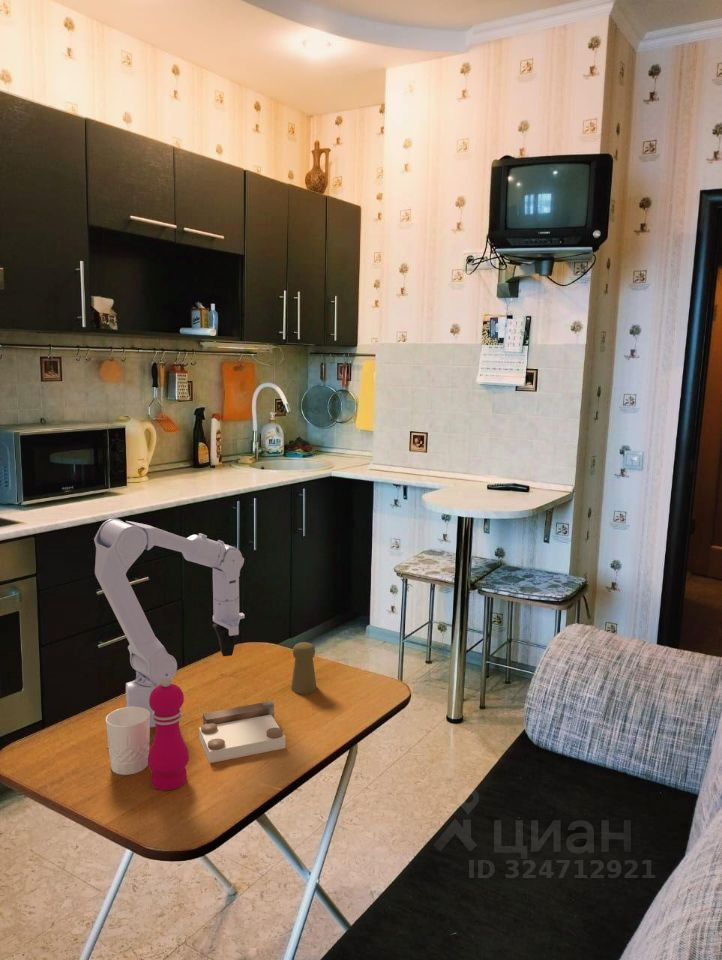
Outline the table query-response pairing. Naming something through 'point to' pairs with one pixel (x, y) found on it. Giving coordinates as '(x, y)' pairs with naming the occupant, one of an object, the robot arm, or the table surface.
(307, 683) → the cork
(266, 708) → the folding leg
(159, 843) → the table surface
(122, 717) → the white cup
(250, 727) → the stool seat
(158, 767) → the pepper mill
